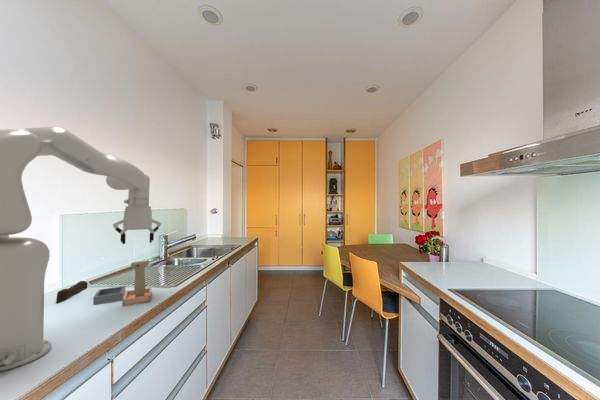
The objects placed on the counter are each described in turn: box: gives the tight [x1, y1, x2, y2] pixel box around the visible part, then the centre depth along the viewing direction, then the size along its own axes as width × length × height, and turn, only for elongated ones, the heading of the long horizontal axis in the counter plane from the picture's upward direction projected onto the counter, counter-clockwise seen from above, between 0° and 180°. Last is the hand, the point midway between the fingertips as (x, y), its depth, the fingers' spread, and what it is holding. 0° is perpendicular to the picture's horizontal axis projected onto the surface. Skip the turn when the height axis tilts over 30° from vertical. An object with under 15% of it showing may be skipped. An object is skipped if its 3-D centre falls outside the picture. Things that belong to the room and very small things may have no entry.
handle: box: [130, 260, 150, 297], centre depth 105 cm, size 5×6×15 cm
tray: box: [121, 287, 153, 307], centre depth 105 cm, size 12×10×2 cm
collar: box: [92, 285, 126, 306], centre depth 106 cm, size 10×10×3 cm
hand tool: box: [55, 280, 88, 304], centre depth 110 cm, size 19×4×5 cm, turn 14°
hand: (137, 243), depth 105 cm, fingers open, 9 cm apart
